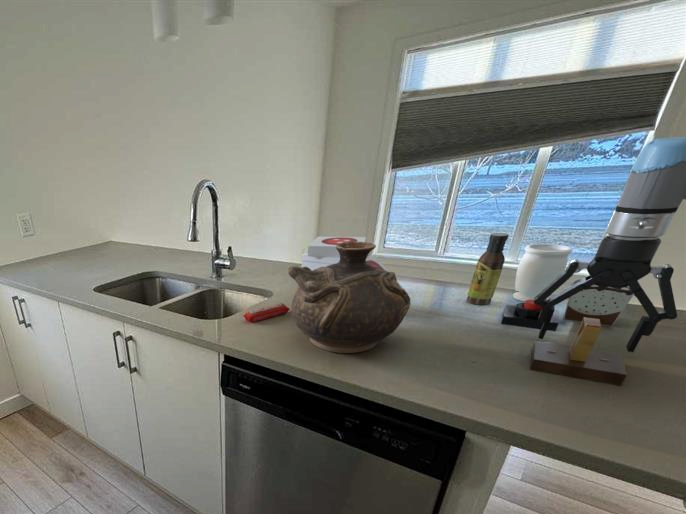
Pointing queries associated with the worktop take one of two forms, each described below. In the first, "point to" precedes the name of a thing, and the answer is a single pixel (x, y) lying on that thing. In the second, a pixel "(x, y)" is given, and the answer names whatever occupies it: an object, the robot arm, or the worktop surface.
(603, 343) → the worktop surface
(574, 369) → the plate
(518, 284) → the jar
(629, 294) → the food container
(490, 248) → the sauce bottle
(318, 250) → the pizza boxes
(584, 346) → the thumb turn
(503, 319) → the set button box
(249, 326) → the worktop surface
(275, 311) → the candy bar
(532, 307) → the set button
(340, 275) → the vessel
